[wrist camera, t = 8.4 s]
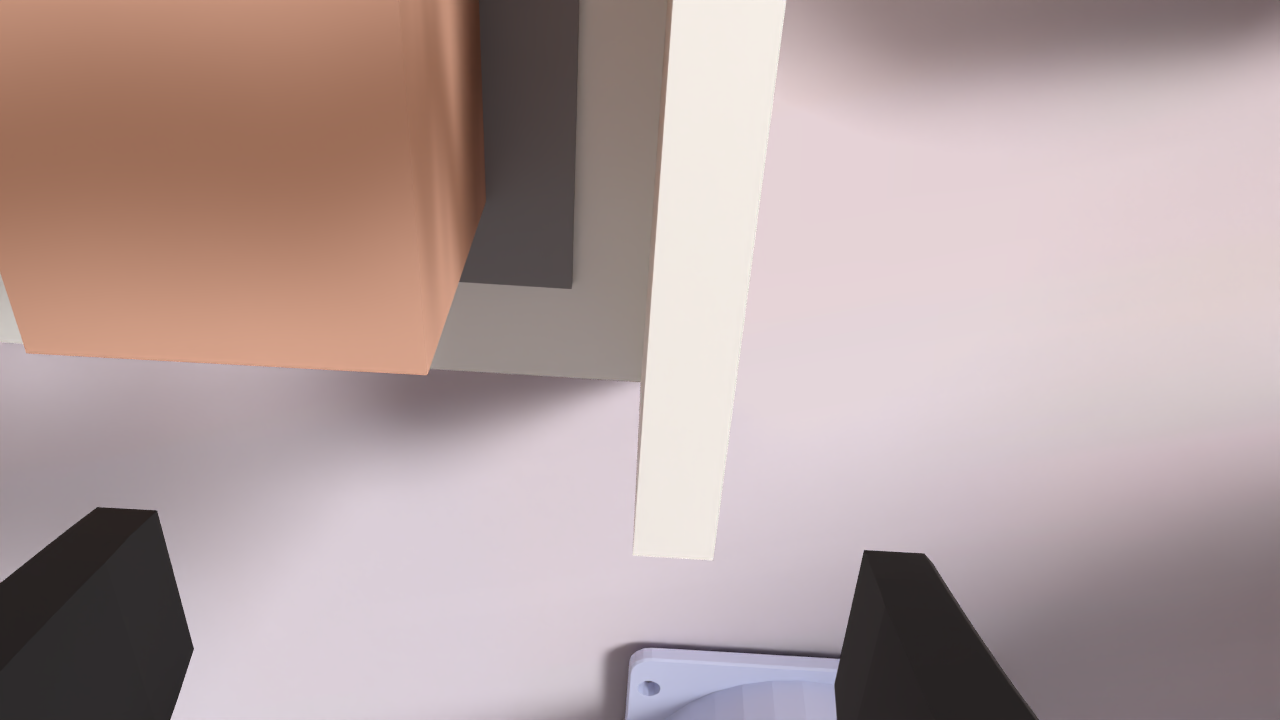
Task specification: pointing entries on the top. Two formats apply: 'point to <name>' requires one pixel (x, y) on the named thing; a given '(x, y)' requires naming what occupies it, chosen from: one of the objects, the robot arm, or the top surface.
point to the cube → (239, 178)
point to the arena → (620, 223)
